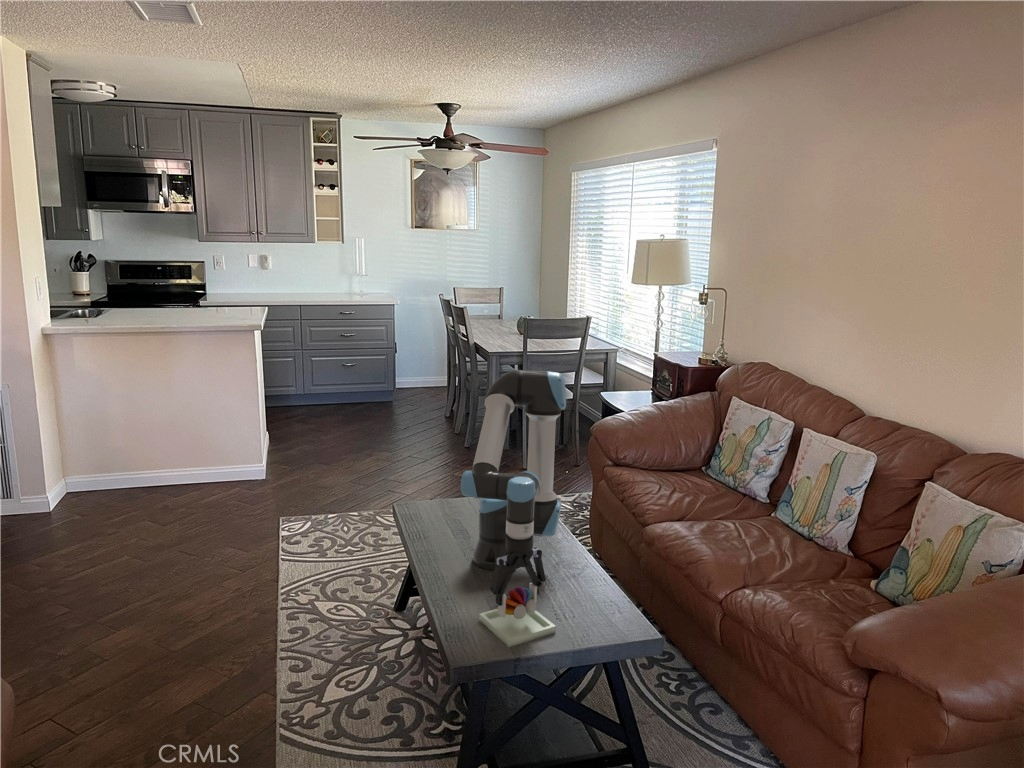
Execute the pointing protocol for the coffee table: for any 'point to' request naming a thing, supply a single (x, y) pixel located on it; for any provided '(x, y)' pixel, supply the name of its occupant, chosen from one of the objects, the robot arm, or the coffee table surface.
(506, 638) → the tray
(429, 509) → the coffee table surface
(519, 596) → the rainbow lobed toy
